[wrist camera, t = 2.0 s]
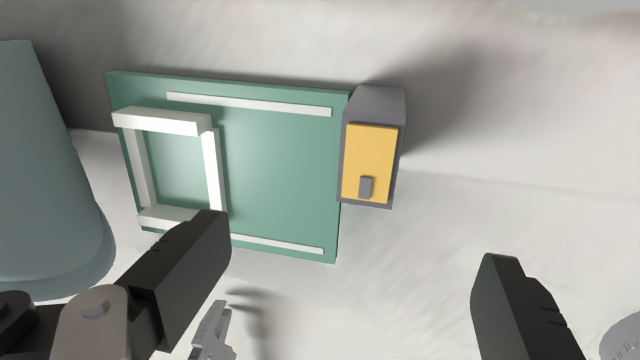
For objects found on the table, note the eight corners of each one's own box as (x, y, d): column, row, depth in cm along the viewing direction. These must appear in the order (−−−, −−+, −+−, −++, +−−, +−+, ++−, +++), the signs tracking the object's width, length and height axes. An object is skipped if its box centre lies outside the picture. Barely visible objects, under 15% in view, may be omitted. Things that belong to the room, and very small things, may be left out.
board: (350, 91, 22) (343, 102, 20) (336, 255, 29) (330, 281, 26) (115, 70, 25) (80, 77, 23) (150, 222, 32) (126, 243, 29)
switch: (405, 87, 22) (406, 121, 15) (393, 158, 24) (390, 214, 17) (358, 84, 22) (340, 114, 16) (352, 153, 24) (334, 206, 18)
